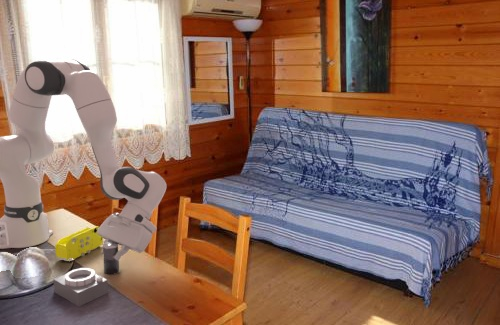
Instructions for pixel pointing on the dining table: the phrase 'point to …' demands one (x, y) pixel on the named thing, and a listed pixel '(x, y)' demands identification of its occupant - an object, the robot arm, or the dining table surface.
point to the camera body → (80, 286)
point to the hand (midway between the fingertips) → (109, 256)
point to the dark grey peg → (110, 258)
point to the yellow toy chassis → (78, 243)
